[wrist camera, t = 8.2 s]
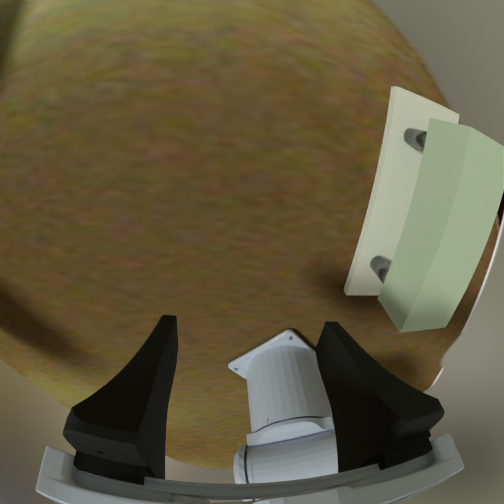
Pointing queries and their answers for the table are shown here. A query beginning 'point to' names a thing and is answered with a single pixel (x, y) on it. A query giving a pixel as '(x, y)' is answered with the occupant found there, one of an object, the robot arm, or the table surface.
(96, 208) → the table surface
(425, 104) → the peg stand
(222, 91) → the table surface
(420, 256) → the pale green block
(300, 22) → the table surface
